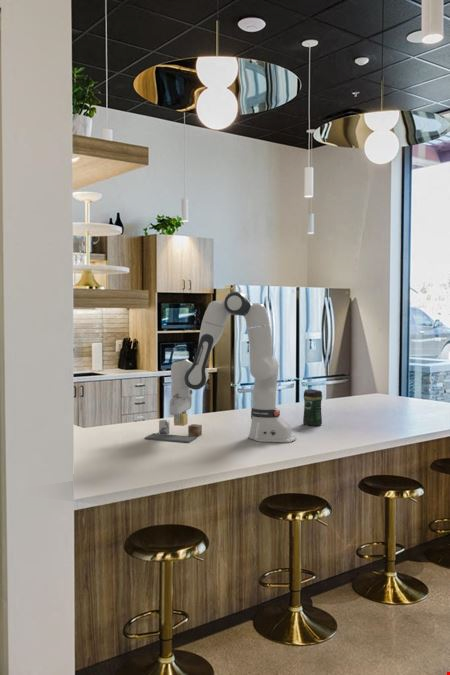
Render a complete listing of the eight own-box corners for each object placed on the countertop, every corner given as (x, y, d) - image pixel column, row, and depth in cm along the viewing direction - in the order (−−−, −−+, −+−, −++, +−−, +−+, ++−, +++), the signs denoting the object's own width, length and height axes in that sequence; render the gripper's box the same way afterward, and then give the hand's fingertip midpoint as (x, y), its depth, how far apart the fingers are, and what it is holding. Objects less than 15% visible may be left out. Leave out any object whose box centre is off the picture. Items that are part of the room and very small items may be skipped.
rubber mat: (196, 438, 303) (196, 436, 303) (188, 442, 294) (188, 441, 294) (153, 434, 310) (153, 433, 310) (144, 439, 300) (144, 437, 300)
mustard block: (187, 423, 313) (187, 413, 313) (183, 425, 309) (183, 415, 308) (177, 423, 315) (177, 413, 315) (174, 425, 310) (173, 415, 310)
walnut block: (201, 435, 311) (201, 424, 311) (198, 437, 307) (198, 426, 306) (191, 434, 313) (192, 424, 313) (188, 436, 308) (188, 426, 308)
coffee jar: (324, 425, 340) (325, 390, 338) (314, 426, 334) (314, 391, 333) (310, 422, 347) (311, 387, 346) (300, 424, 342) (301, 389, 341)
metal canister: (170, 432, 316) (171, 420, 316) (166, 434, 312) (167, 422, 311) (161, 431, 318) (161, 419, 317) (157, 433, 313) (157, 421, 313)
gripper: (178, 395, 300) (178, 425, 301) (193, 390, 319) (194, 417, 320) (165, 395, 302) (166, 424, 303) (181, 389, 321) (182, 417, 322)
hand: (180, 421), depth 312 cm, fingers closed on mustard block, 5 cm apart
